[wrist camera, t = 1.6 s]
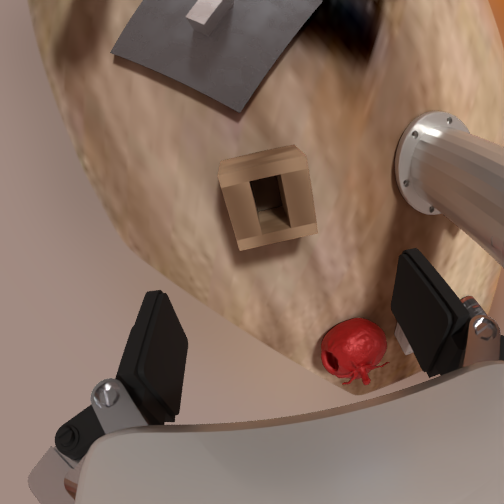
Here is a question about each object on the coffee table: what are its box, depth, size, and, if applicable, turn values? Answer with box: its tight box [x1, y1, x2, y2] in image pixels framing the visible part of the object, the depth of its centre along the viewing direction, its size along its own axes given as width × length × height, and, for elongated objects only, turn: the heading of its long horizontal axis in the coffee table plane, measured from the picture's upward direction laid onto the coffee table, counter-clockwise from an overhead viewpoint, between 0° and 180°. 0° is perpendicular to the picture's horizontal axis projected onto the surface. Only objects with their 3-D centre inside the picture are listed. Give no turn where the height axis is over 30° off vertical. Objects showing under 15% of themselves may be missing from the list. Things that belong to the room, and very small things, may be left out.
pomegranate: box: [321, 318, 390, 385], centre depth 36 cm, size 10×10×9 cm
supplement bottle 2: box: [460, 296, 487, 318], centre depth 35 cm, size 6×6×11 cm
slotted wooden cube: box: [217, 145, 318, 251], centre depth 26 cm, size 7×7×5 cm
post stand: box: [110, 0, 322, 113], centre depth 16 cm, size 14×14×6 cm
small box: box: [394, 322, 413, 355], centre depth 38 cm, size 6×6×5 cm
